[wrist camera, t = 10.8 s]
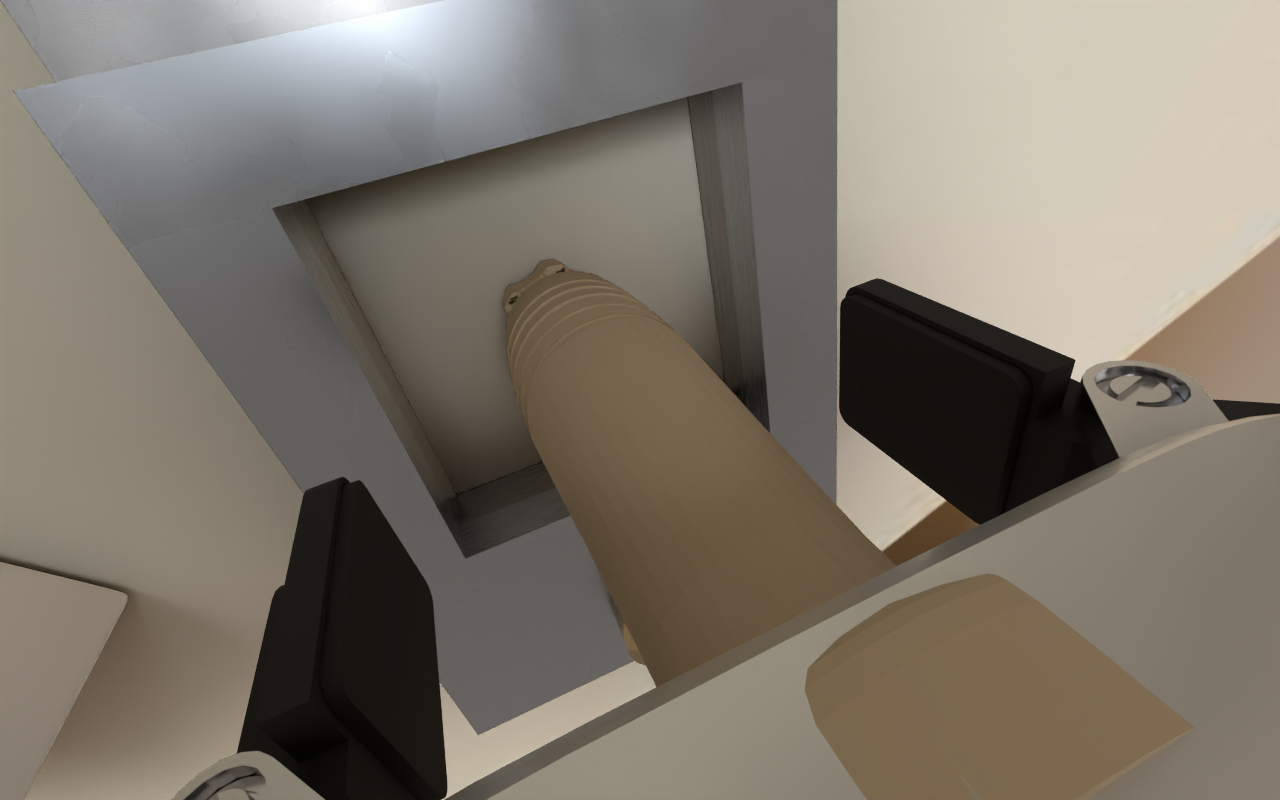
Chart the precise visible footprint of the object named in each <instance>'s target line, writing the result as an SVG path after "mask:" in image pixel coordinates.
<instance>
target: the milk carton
mask: <svg viewBox="0 0 1280 800" xmlns="http://www.w3.org/2000/svg"><path fill="white" fill-rule="evenodd" d="M127 600H128V596H127V594H125V593H123V592H119V591H116V590H112V589H108V588H105V587H101V586H97V585H93V584H89V583H85V582H81V581H77V580H72V579H68V578H64V577H60V576H56V575H52V574H48V573H44V572H40V571H36V570H32V569H28V568H23V567H19V566H15V565H11V564H7V563H3V562H0V800H24V799H25V797H26V795H27V793H28V791H29V789H30V787H31V785H32V783H33V781H34V780H35V778H36V776H37V774H38V772H39V770H40V768H41V766H42V764H43V762H44V760H45V759H46V757H47V755H48V753H49V751H50V749H51V747H52V745H53V743H54V741H55V739H56V738H57V736H58V734H59V732H60V730H61V728H62V726H63V724H64V722H65V720H66V718H67V717H68V715H69V713H70V711H71V709H72V707H73V705H74V703H75V701H76V699H77V697H78V696H79V694H80V692H81V690H82V688H83V686H84V684H85V682H86V680H87V678H88V676H89V674H90V673H91V671H92V669H93V667H94V665H95V663H96V661H97V659H98V657H99V655H100V653H101V652H102V650H103V648H104V646H105V644H106V642H107V640H108V638H109V636H110V634H111V632H112V631H113V629H114V627H115V625H116V623H117V621H118V619H119V617H120V615H121V613H122V611H123V610H124V608H125V605H126V603H127Z"/></svg>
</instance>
